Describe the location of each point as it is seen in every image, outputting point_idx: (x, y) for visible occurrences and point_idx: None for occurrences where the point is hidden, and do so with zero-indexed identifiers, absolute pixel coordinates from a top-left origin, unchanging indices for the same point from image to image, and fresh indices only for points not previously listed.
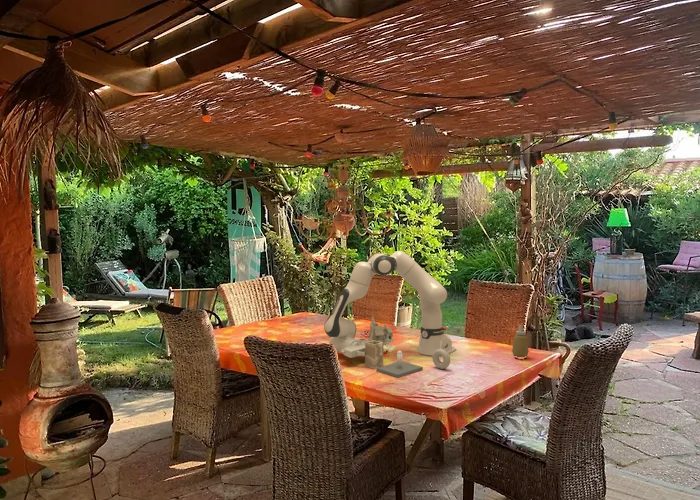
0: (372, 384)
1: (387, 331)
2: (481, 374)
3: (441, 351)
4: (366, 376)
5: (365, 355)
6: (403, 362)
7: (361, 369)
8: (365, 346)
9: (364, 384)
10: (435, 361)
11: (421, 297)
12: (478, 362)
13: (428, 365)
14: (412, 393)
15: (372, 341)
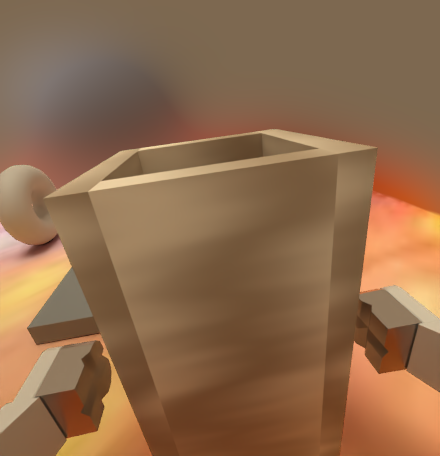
0: (373, 208)
1: None
2: None
3: (34, 168)
4: (385, 260)
5: (358, 319)
6: (62, 299)
7: (407, 378)
8: (359, 231)
9: (410, 212)
10: (40, 221)
11: None
12: None
13: (13, 274)
14: None
15: (159, 175)
